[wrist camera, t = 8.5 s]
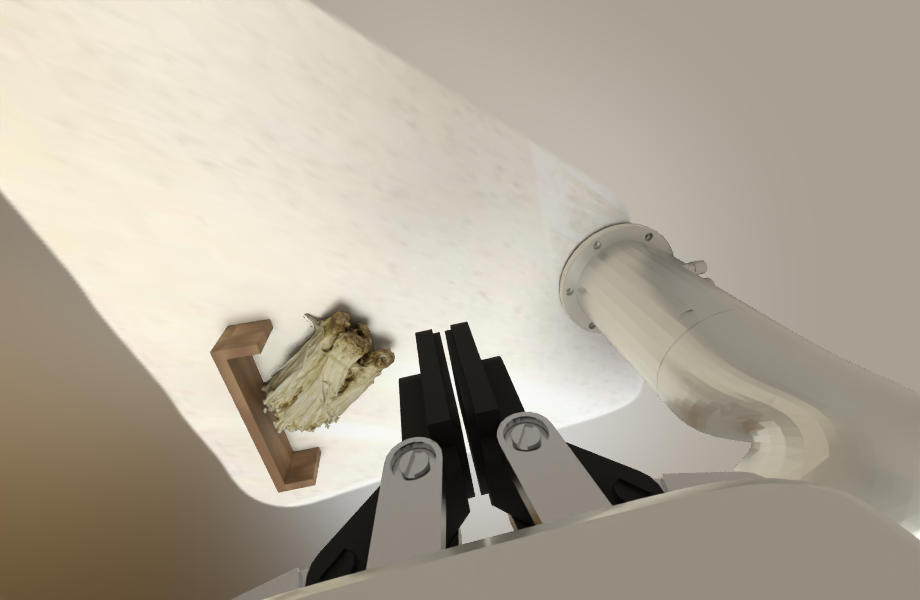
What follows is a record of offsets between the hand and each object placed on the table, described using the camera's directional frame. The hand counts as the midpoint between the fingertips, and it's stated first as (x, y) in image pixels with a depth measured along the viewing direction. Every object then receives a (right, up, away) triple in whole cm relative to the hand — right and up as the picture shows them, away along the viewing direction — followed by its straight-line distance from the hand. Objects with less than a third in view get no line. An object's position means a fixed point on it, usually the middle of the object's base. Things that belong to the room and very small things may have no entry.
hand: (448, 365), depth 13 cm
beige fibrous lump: (-14, -4, +31) cm, 34 cm away
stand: (-19, -8, +31) cm, 38 cm away
